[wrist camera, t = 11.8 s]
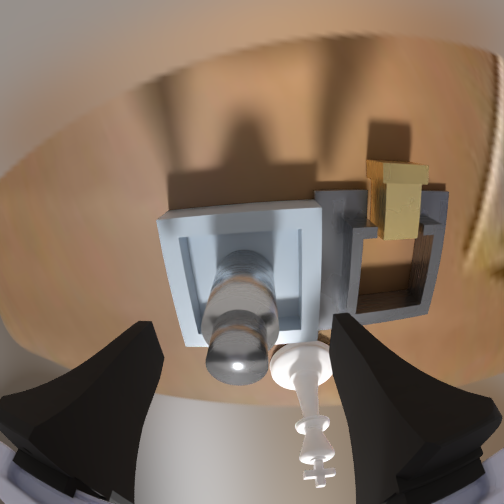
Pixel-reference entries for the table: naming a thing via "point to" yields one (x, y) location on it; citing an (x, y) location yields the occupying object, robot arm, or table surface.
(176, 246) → the tray
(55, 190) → the table surface
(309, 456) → the chess piece
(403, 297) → the socket
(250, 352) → the stepped metal cylinder
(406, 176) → the tan stepped block
